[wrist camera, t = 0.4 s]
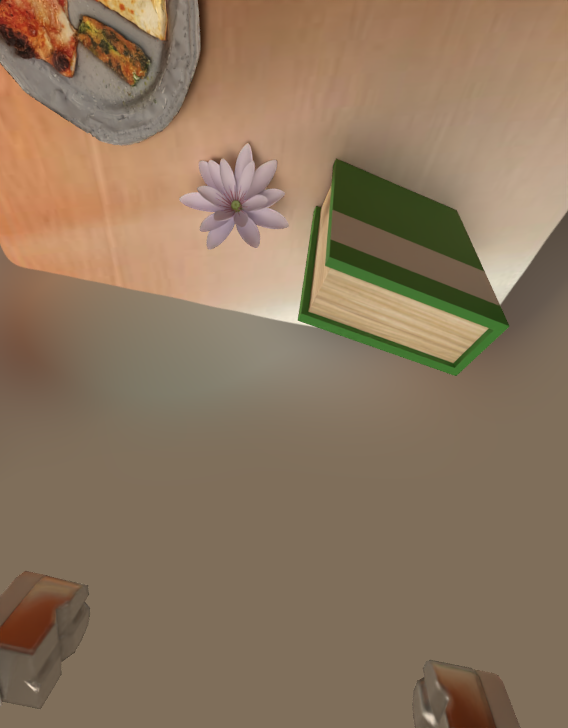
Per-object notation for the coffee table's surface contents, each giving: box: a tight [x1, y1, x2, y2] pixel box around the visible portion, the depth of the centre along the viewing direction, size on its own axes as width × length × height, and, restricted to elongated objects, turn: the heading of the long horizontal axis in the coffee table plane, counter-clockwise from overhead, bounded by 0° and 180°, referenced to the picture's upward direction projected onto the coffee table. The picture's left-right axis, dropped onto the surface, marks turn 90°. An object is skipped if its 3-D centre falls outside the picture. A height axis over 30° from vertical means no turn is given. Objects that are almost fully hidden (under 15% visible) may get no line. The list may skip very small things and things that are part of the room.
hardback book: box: [298, 159, 509, 376], centre depth 43 cm, size 18×7×24 cm, turn 71°
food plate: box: [0, 0, 201, 145], centre depth 39 cm, size 25×23×4 cm
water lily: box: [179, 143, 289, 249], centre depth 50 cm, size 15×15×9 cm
